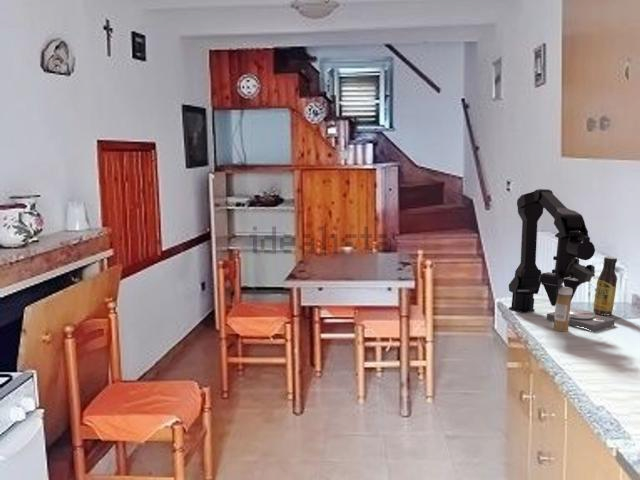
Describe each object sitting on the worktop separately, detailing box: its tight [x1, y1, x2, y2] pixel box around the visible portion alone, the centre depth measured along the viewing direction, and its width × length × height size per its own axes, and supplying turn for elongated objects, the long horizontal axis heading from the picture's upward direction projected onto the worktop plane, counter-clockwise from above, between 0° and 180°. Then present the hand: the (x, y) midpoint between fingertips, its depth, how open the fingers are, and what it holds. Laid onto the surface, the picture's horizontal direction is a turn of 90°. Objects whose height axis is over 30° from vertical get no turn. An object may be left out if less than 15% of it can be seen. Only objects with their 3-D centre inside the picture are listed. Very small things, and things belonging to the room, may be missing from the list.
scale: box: [545, 311, 616, 332], centre depth 228 cm, size 16×14×2 cm
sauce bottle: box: [592, 256, 618, 316], centre depth 240 cm, size 6×6×20 cm
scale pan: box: [569, 307, 595, 320], centre depth 229 cm, size 12×12×1 cm
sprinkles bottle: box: [553, 286, 573, 332], centre depth 216 cm, size 5×5×14 cm
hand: (561, 304), depth 216 cm, fingers open, 9 cm apart
